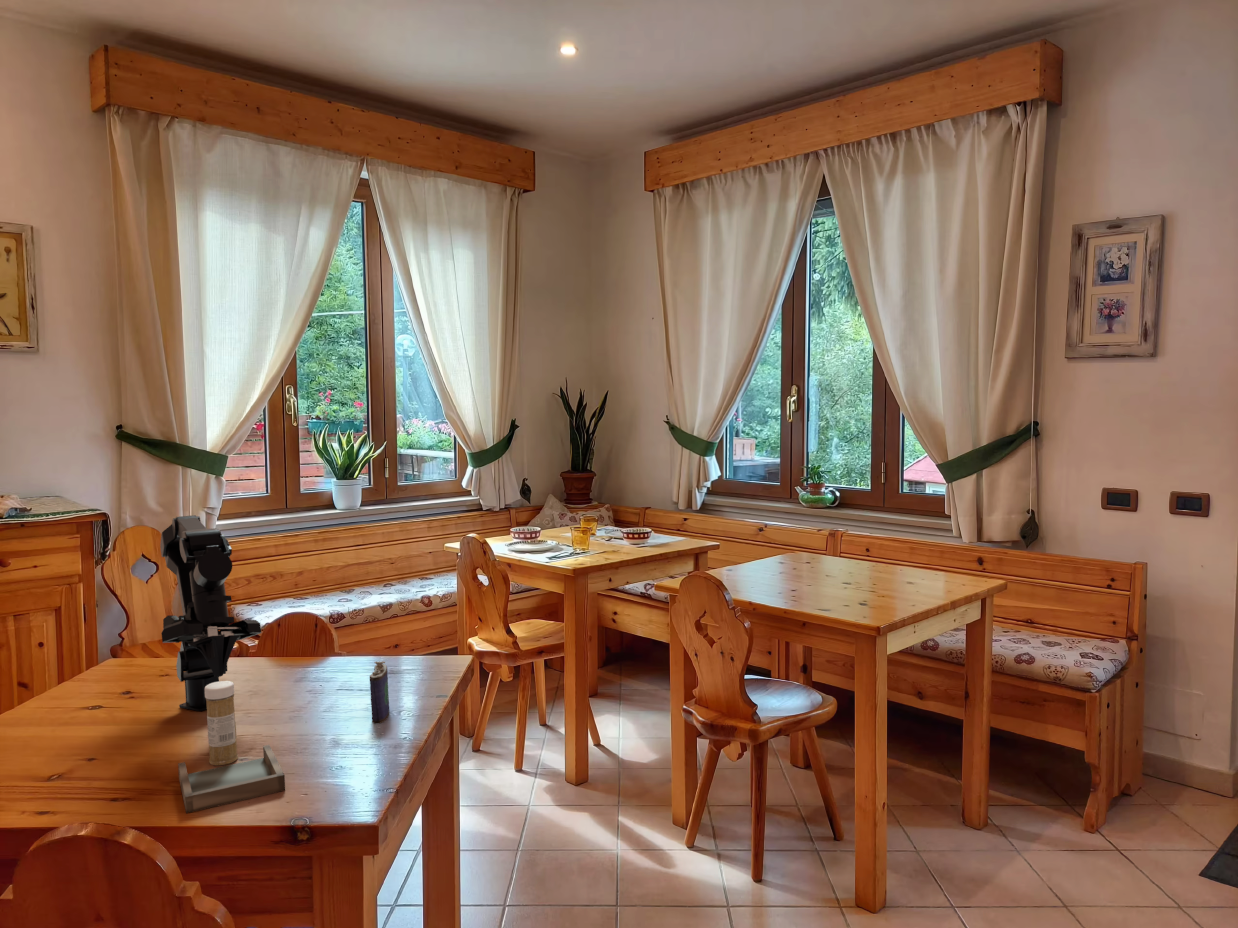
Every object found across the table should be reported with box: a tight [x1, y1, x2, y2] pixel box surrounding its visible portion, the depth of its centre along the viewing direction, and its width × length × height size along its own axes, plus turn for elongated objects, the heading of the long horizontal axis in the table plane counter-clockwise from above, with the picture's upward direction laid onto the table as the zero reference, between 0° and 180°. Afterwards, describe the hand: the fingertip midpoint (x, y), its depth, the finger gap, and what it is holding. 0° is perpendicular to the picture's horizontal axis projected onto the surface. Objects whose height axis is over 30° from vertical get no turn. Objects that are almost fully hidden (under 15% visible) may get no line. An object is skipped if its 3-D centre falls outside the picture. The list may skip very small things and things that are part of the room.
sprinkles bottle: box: [205, 680, 239, 766], centre depth 147 cm, size 5×5×13 cm
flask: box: [369, 661, 390, 725], centre depth 168 cm, size 9×3×11 cm, turn 8°
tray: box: [177, 744, 286, 814], centre depth 138 cm, size 14×14×2 cm
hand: (219, 676), depth 159 cm, fingers closed
